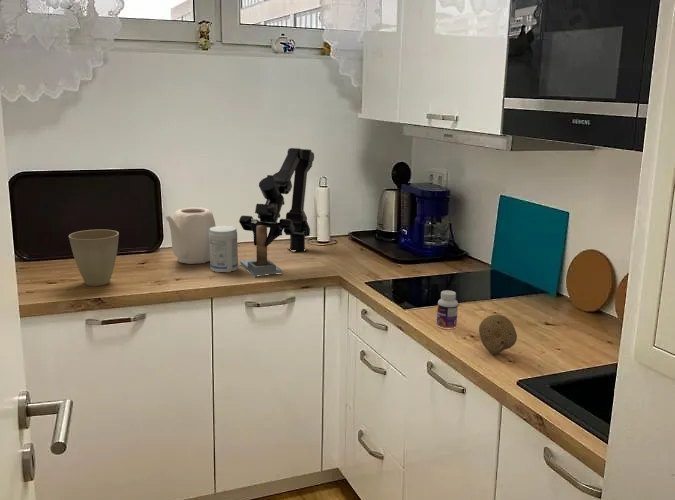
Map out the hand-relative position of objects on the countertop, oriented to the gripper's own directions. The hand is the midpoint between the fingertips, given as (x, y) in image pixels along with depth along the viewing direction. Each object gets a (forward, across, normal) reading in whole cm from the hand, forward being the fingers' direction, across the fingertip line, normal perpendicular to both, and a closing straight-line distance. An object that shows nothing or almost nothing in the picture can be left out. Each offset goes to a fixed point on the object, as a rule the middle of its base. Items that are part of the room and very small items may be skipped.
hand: (260, 245), depth 230 cm
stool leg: (+4, 0, +6) cm, 7 cm away
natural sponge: (+38, +82, -24) cm, 94 cm away
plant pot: (+27, -44, -13) cm, 54 cm away
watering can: (+3, -29, +12) cm, 32 cm away
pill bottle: (+28, +67, -13) cm, 74 cm away
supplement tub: (+7, -14, +8) cm, 18 cm away
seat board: (+3, -2, +11) cm, 12 cm away
